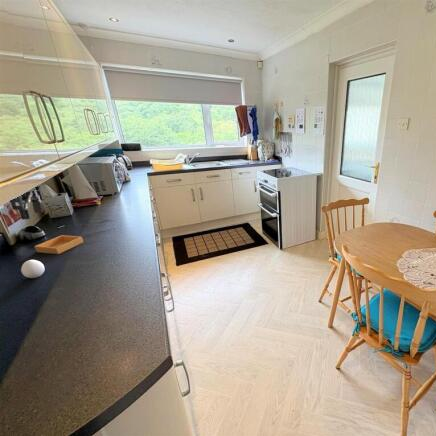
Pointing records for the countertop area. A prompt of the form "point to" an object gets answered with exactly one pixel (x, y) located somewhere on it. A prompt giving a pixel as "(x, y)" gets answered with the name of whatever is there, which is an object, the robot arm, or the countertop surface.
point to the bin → (59, 244)
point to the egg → (32, 269)
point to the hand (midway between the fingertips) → (32, 215)
